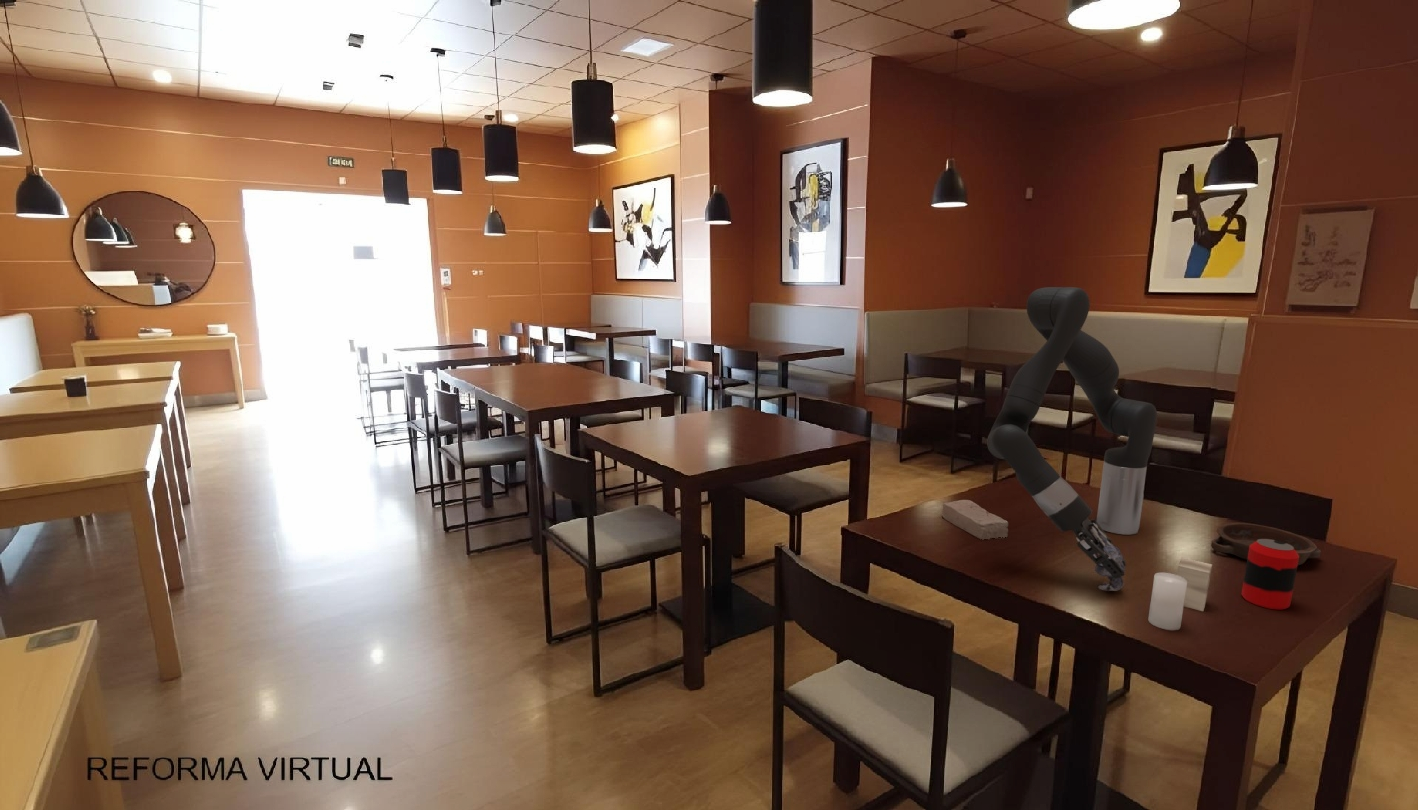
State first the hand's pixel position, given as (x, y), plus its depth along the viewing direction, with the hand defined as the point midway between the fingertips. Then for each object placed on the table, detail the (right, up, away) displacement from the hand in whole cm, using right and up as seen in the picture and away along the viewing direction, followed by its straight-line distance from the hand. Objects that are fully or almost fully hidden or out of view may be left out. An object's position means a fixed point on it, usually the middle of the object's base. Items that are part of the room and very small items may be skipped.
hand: (1120, 571), depth 138 cm
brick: (-16, +2, +36) cm, 40 cm away
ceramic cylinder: (+1, -7, -11) cm, 13 cm away
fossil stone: (-2, -5, +2) cm, 5 cm away
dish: (+45, -2, +20) cm, 49 cm away
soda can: (+27, -6, -2) cm, 28 cm away
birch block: (+12, -5, -3) cm, 13 cm away
